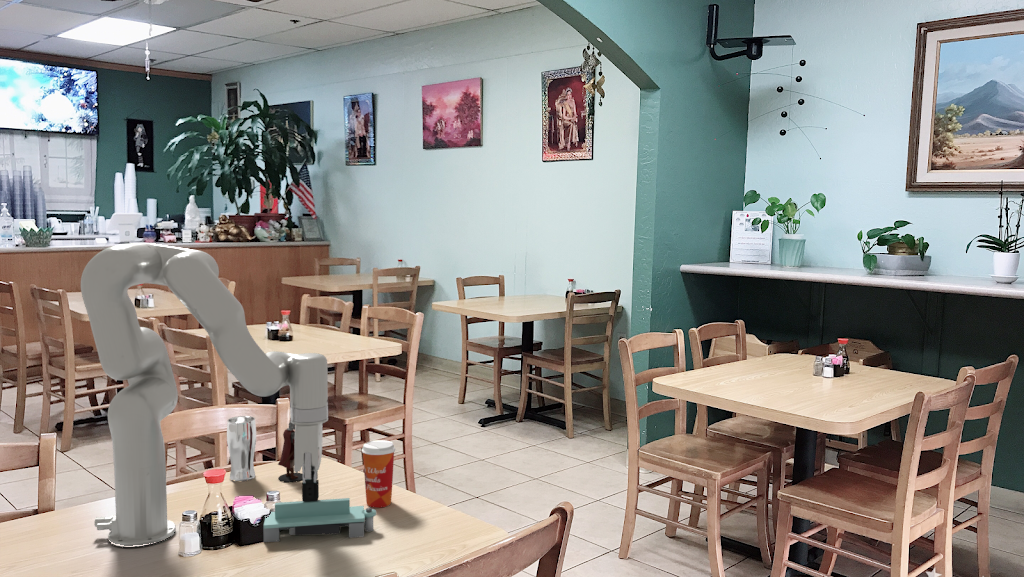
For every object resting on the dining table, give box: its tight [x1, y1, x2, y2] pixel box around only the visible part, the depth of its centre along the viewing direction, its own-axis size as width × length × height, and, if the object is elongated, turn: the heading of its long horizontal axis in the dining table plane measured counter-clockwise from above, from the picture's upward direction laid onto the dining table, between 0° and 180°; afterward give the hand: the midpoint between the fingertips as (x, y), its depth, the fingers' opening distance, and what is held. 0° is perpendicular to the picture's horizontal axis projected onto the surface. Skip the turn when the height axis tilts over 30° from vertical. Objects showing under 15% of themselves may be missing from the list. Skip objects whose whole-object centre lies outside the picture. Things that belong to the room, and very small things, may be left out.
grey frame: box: [262, 517, 374, 543], centre depth 165 cm, size 22×7×3 cm, turn 99°
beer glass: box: [226, 415, 257, 482], centre depth 197 cm, size 7×7×15 cm
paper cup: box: [361, 439, 397, 509], centre depth 181 cm, size 8×8×14 cm
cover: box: [263, 497, 377, 529], centre depth 164 cm, size 22×7×4 cm, turn 102°
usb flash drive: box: [289, 523, 342, 536], centre depth 165 cm, size 10×3×2 cm, turn 96°
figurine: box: [277, 419, 303, 483], centre depth 197 cm, size 7×7×15 cm
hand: (310, 499), depth 164 cm, fingers closed
